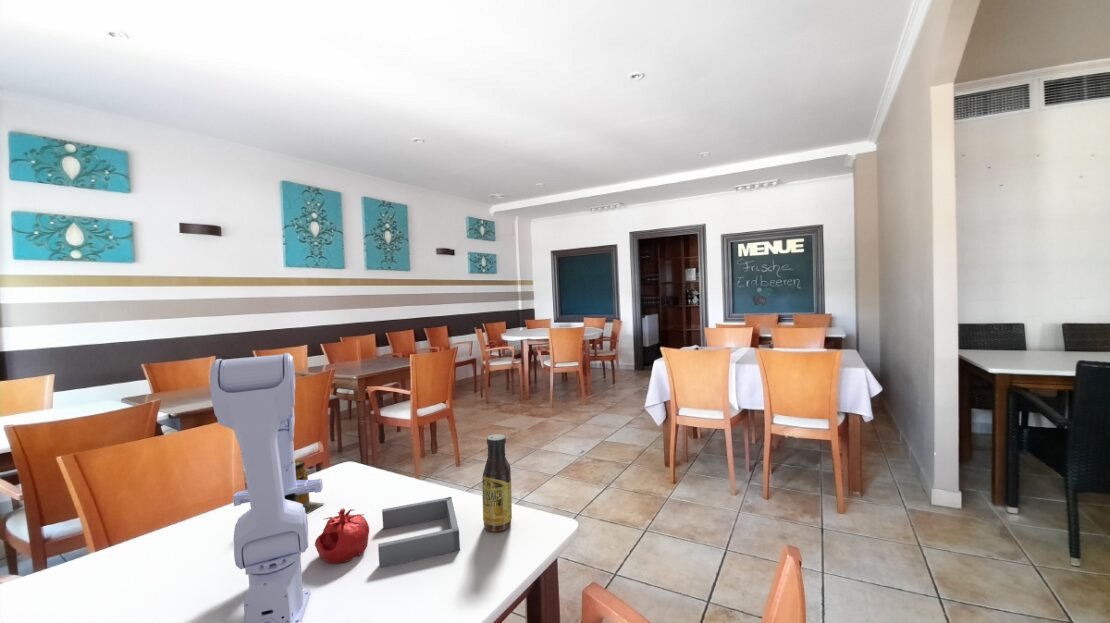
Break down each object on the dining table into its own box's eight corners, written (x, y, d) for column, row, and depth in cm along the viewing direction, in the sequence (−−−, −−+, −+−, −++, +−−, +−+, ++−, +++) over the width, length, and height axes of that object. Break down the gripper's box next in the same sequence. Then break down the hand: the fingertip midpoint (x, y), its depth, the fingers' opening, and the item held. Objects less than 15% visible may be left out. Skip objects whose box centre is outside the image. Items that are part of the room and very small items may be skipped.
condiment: (272, 517, 106) (268, 467, 106) (303, 500, 114) (300, 454, 114) (295, 521, 104) (291, 470, 103) (325, 504, 112) (321, 457, 111)
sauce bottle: (477, 530, 96) (473, 439, 95) (494, 516, 102) (490, 430, 101) (502, 536, 93) (498, 442, 92) (518, 522, 99) (514, 433, 98)
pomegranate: (362, 535, 96) (360, 493, 96) (377, 555, 89) (375, 508, 89) (311, 553, 90) (309, 507, 90) (322, 575, 82) (319, 525, 82)
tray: (460, 550, 89) (459, 530, 89) (379, 567, 84) (378, 547, 84) (452, 513, 104) (451, 496, 104) (383, 526, 99) (382, 509, 99)
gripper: (323, 451, 92) (327, 516, 92) (240, 463, 87) (245, 531, 88) (316, 464, 85) (321, 533, 85) (226, 477, 80) (232, 550, 81)
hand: (282, 533), depth 86 cm, fingers closed
